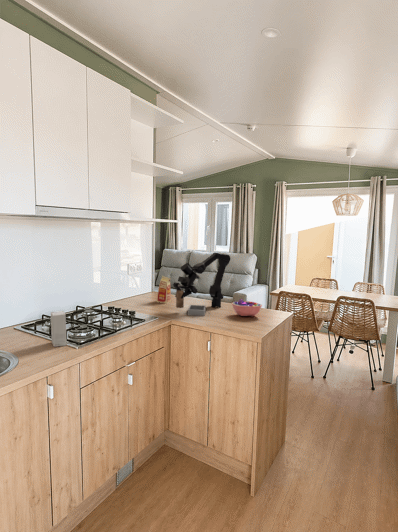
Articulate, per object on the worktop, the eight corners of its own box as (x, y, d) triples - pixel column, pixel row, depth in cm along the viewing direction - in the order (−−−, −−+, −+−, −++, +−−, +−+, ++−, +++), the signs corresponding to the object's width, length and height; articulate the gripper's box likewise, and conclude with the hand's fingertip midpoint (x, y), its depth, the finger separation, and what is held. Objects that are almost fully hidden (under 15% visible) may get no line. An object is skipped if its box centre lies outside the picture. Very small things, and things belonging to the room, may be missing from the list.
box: (205, 310, 237) (205, 305, 236) (204, 315, 222) (204, 310, 221) (189, 309, 237) (189, 304, 237) (187, 315, 222) (187, 309, 222)
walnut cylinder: (183, 306, 230) (184, 290, 229) (183, 308, 225) (183, 291, 224) (176, 306, 230) (176, 290, 229) (175, 307, 225) (175, 291, 224)
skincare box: (66, 345, 157) (66, 314, 156) (52, 347, 155) (52, 315, 153) (64, 340, 165) (64, 310, 163) (50, 341, 162) (50, 311, 160)
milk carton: (156, 302, 258) (157, 276, 256) (161, 300, 267) (162, 274, 265) (167, 303, 255) (168, 277, 253) (172, 301, 264) (173, 275, 262)
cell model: (261, 320, 215) (262, 303, 214) (229, 317, 219) (230, 300, 218) (261, 314, 232) (262, 297, 231) (232, 311, 236) (233, 295, 235)
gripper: (175, 270, 234) (162, 288, 227) (195, 273, 222) (182, 292, 215) (182, 280, 241) (171, 298, 234) (202, 284, 229) (190, 302, 222)
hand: (178, 297), depth 226 cm, fingers closed on walnut cylinder, 5 cm apart
